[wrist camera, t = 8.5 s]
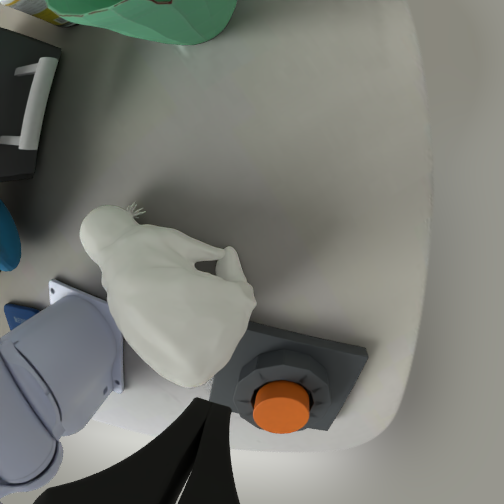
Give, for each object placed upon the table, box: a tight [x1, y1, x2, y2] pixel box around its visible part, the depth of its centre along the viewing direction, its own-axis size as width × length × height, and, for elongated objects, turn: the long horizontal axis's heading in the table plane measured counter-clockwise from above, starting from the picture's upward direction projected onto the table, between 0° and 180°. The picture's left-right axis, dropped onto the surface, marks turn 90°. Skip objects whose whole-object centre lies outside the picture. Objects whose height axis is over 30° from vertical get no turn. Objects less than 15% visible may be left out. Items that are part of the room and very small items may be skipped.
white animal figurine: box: [80, 202, 257, 388], centre depth 16 cm, size 6×8×12 cm
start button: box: [253, 380, 309, 434], centre depth 18 cm, size 4×4×2 cm
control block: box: [209, 321, 368, 431], centre depth 20 cm, size 8×10×3 cm
